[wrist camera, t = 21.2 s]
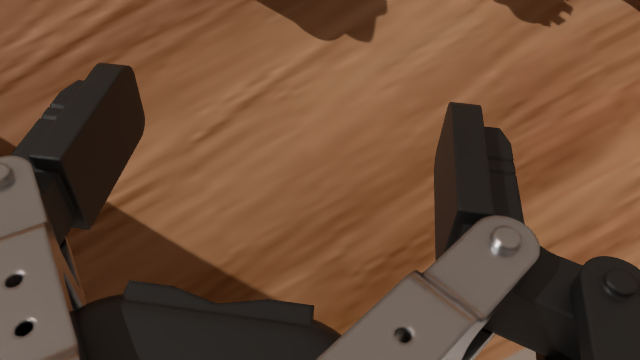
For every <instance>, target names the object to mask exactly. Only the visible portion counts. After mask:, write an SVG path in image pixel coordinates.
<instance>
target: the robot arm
mask: <svg viewBox="0 0 640 360" xmlns="http://www.w3.org/2000/svg"><path fill="white" fill-rule="evenodd" d="M144 126H145V116H144V111H143V107H142V103H141V99H140V95H139V91H138V87H137V83H136V79H135V75H134V72H133V69H132V68H131V67H130V66H125V65H116V64H107V63H98V64H97V65H96V66H95V67H94V68H93V70H92V71H91V72H90V74H89V75H88V76H87V78H86V79H85V80H84V81H81V80H78V81H76V82H74V83H73V84H71V85H70V86H68V87H67V88H65V89H64V90H62V91H61V92H60V93H59V94H58V96H57V97H56V98H55V99H54V101H53V102H52V103H51V104H50V108H47V110H46V111H45V112H44V113H43V115H42V118H41V119H39V120H38V121H37V122H36V123H35V125H34V126H33V127H32V129H31V130H30V131H29V132H28V134H27V135H26V136H25V137H24V139H23V140H22V141H21V143H20V144H19V145H18V146H17V148H16V149H15V150H14V151H13V153H12V154H11V155H10V156H0V360H474V359H475V357H476V356H477V355H478V354H479V353H480V351H481V350H482V349H483V348H484V347H485V346H486V344H487V343H488V342H489V341H490V340H491V339H492V337H493V336H494V335H495V334H497V335H499V336H502V337H504V338H506V339H508V340H511V341H513V342H515V343H517V344H519V345H522V346H524V347H526V348H528V349H531V350H533V351H535V352H536V359H537V360H640V270H639V269H638V268H637V267H635V266H634V265H632V264H630V263H628V262H626V261H624V260H621V259H618V258H614V257H608V256H600V257H595V258H592V259H590V260H589V261H587V262H586V263H585V264H584V265H580V264H577V263H575V262H572V261H570V260H567V259H565V258H562V257H559V256H557V255H555V254H553V253H551V252H549V251H547V250H545V249H544V248H543V247H541V246H540V245H539V242H538V239H537V237H536V236H535V234H534V233H533V232H532V231H531V230H530V229H529V228H528V227H527V226H526V225H525V224H524V219H523V213H522V207H521V201H520V195H519V189H518V183H517V178H516V176H515V173H516V172H515V166H514V163H513V154H512V148H511V143H510V142H509V140H508V139H507V138H506V136H505V135H504V134H503V132H502V131H501V130H500V128H492V127H484V124H483V115H482V108H481V106H480V105H473V104H464V103H455V102H450V103H449V105H448V108H447V111H446V115H445V119H444V123H443V127H442V131H441V135H440V139H439V143H438V146H437V151H436V157H435V165H434V198H435V251H436V261H435V262H434V263H433V264H432V265H431V266H430V267H429V268H428V269H427V270H426V271H424V272H423V273H420V272H419V271H417V270H415V271H413V272H411V273H409V274H408V275H407V276H406V277H404V278H403V279H402V280H401V281H400V282H399V283H398V284H397V285H396V286H395V287H394V288H393V289H391V290H390V291H389V292H388V293H387V294H386V295H385V296H384V297H383V298H382V299H381V300H380V301H379V302H377V303H376V304H375V305H374V306H373V307H372V308H371V309H370V310H369V311H368V312H367V313H366V314H365V315H364V316H362V317H361V318H360V319H359V320H358V321H357V322H356V323H355V324H354V325H353V326H352V327H351V328H350V329H348V330H347V331H346V332H345V333H344V334H343V335H340V334H339V333H338V332H336V331H335V330H333V329H332V328H330V327H328V326H327V325H325V324H323V323H321V322H318V321H316V320H314V319H313V316H314V305H306V304H299V303H292V302H284V301H277V300H270V299H265V300H254V301H243V302H232V303H214V302H211V301H209V300H206V299H204V298H201V297H199V296H197V295H194V294H192V293H189V292H187V291H184V290H182V289H179V288H177V287H174V286H168V285H161V284H153V283H146V282H139V281H131V280H129V282H128V284H127V286H126V289H125V291H124V293H123V294H120V295H114V296H109V297H105V298H102V299H99V300H96V301H93V302H91V303H89V304H88V302H87V300H86V297H85V294H84V291H83V287H82V284H81V281H80V278H79V274H78V271H77V268H76V265H75V261H74V258H73V255H72V252H71V249H70V245H69V243H68V240H67V238H66V236H67V234H68V232H69V231H70V229H71V227H72V228H80V229H87V230H90V229H91V227H92V225H93V223H94V221H95V220H96V218H97V216H98V214H99V212H100V211H101V209H102V207H103V205H104V204H105V202H106V200H107V198H108V196H109V195H110V193H111V191H112V189H113V187H114V186H115V184H116V182H117V180H118V178H119V177H120V175H121V173H122V171H123V169H124V168H125V166H126V164H127V162H128V160H129V159H130V157H131V155H132V153H133V151H134V150H135V148H136V146H137V144H138V143H139V141H140V139H141V137H142V135H143V131H144Z"/></svg>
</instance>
